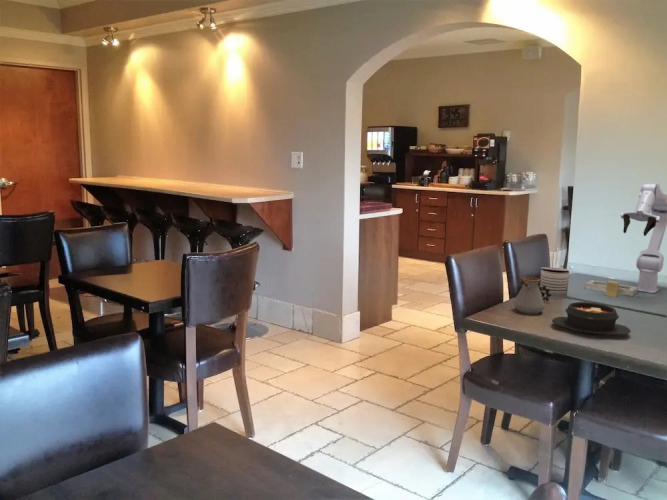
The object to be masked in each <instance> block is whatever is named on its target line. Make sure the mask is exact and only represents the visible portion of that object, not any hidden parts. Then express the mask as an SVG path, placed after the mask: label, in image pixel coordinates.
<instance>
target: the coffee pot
mask: <svg viewBox="0 0 667 500" xmlns="http://www.w3.org/2000/svg"><path fill="white" fill-rule="evenodd" d="M540 279H541V278H538V277H532V276H524V277H521V280H519V282H518V285H519V286H521V288H520V290H519V292H518V294H517V295H516V297H515V300H514V301H513V305H514V308H515V309H517V310H518V312H519V313H521V314H524V315H525V314H526V315H538V314H539V313H540V312H542V311H544V309H545V307H546V303H545V302H544V301H543V298H544V297H542V295H541V292H540V289H539V287H540V286H539V284H540ZM520 282H521V284H522V285H521V284H520Z"/></svg>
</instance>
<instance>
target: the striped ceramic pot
mask: <svg viewBox="0 0 667 500" xmlns="http://www.w3.org/2000/svg"><path fill="white" fill-rule="evenodd" d="M540 269H541V271H540V278H539V279H540V281H539V287H541V288H542V287H543V286H546V290H547V289H550V292H549V294H551V297H548V298H549V299H550V298H551V299H565V298H567V297H568V289H569V280H570V279H569V278H570V269H567V268H561V267H548V266H546V267H545V266H544V267H542V268H540ZM542 289H543V288H542ZM541 292H546V291H544V290H542V291H541ZM546 297H547V294H546V295H545V296H544V298H546Z"/></svg>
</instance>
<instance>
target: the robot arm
mask: <svg viewBox="0 0 667 500" xmlns="http://www.w3.org/2000/svg"><path fill="white" fill-rule="evenodd" d="M639 190H640V191H639V195H638V201H637V202H636V203H637V204H636V206H635V209H634V211H622V212H621V214H620V218H621V219H623V220H622V221H623V231H622V232H623V234H626V233H627V231H628V228H629V226H630V224H631V219H632V220H634V221H638V222H642V223H643V222H646V225H645V228H644V230H643V236H644V237H646V236H647V235H648V233H649V232H650V231H651V230H652V233H651V235H650V239H649V242H648V246H647V248H646V249H644V250H642V251H640V253H639V255H638V257H637V258H636V265H635V266H636V268H637V270H638V271H639V273H638V274H639V275H638V284H637V287H638V292H644V293H651V294H655V293H657V292H658V291H659V289H660V288H658V280H659V276H658V275H659V273H660V272H661V271H662V270H663V267H664V262H665V261H664V260H665V257H664V255H663V253H662V252H661V251H660V248H661V245H662V243H663V239H664V236H665V232H666V228H667V193H665V192H663V190H662V189H661V184H657V183H644V184H642V185H641V186H640V189H639Z"/></svg>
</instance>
